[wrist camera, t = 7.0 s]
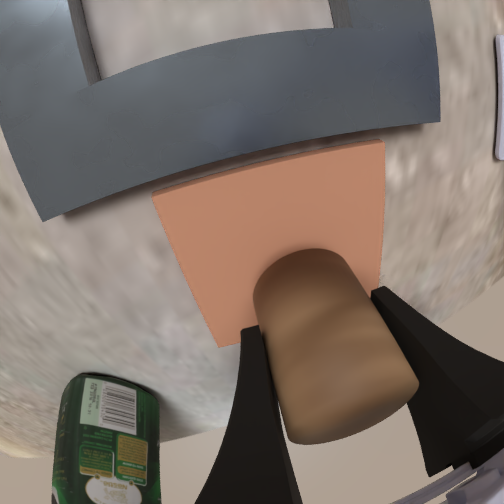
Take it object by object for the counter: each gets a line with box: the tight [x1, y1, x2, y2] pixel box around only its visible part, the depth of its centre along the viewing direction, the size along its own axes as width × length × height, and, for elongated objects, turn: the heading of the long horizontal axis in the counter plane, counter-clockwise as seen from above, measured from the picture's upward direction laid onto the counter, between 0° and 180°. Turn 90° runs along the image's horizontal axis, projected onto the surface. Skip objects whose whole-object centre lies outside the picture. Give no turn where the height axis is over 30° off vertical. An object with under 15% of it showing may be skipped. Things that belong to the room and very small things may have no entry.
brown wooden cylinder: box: [253, 248, 419, 445], centre depth 10 cm, size 4×4×6 cm
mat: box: [151, 139, 385, 347], centre depth 15 cm, size 10×10×1 cm
